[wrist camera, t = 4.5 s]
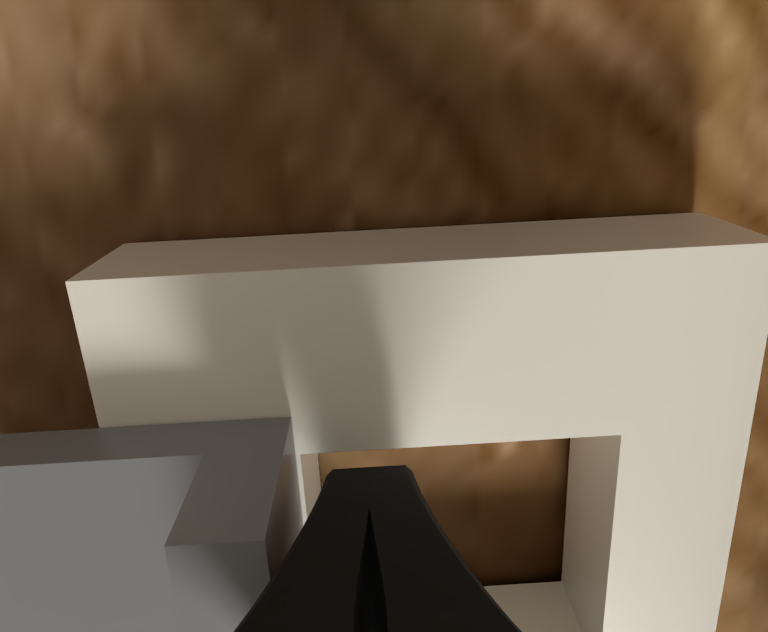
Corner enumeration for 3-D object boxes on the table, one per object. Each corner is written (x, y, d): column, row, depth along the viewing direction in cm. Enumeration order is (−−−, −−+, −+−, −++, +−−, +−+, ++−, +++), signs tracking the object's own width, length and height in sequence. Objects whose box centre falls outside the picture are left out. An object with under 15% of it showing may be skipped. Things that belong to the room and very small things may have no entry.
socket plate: (700, 212, 12) (784, 241, 10) (641, 675, 16) (690, 776, 14) (124, 243, 12) (65, 281, 9) (213, 704, 16) (187, 810, 14)
